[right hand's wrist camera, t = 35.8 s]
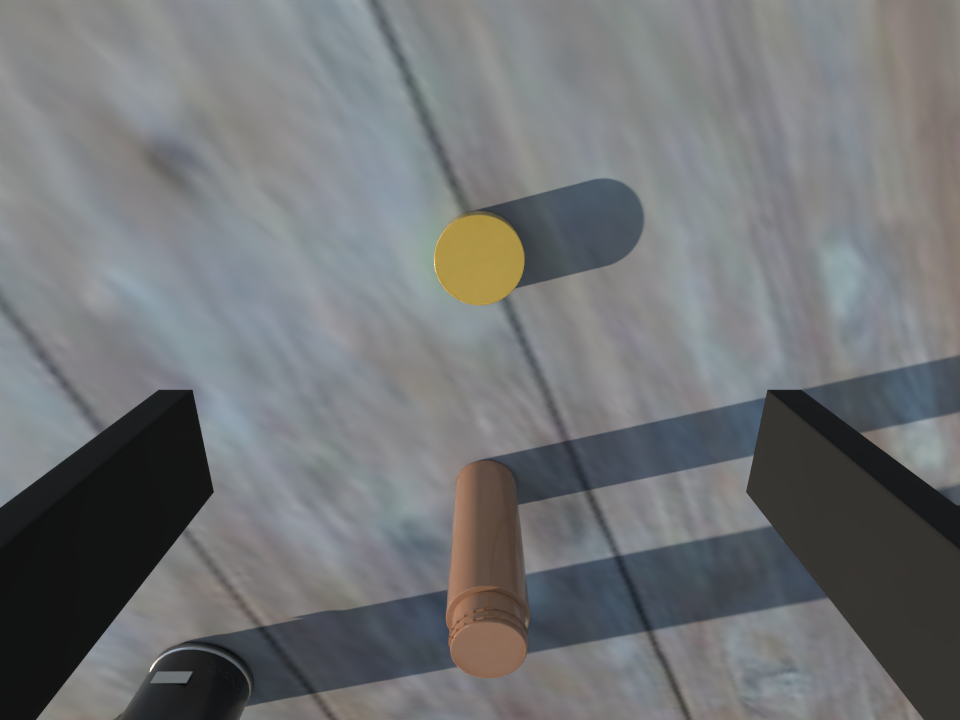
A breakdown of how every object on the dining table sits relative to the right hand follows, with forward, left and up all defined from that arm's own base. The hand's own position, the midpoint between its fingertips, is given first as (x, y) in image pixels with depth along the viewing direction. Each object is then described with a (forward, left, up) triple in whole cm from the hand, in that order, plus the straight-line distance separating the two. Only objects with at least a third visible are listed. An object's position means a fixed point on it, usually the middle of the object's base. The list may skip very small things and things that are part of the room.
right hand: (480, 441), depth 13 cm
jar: (+15, +12, -26) cm, 33 cm away
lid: (0, 0, -24) cm, 24 cm away
